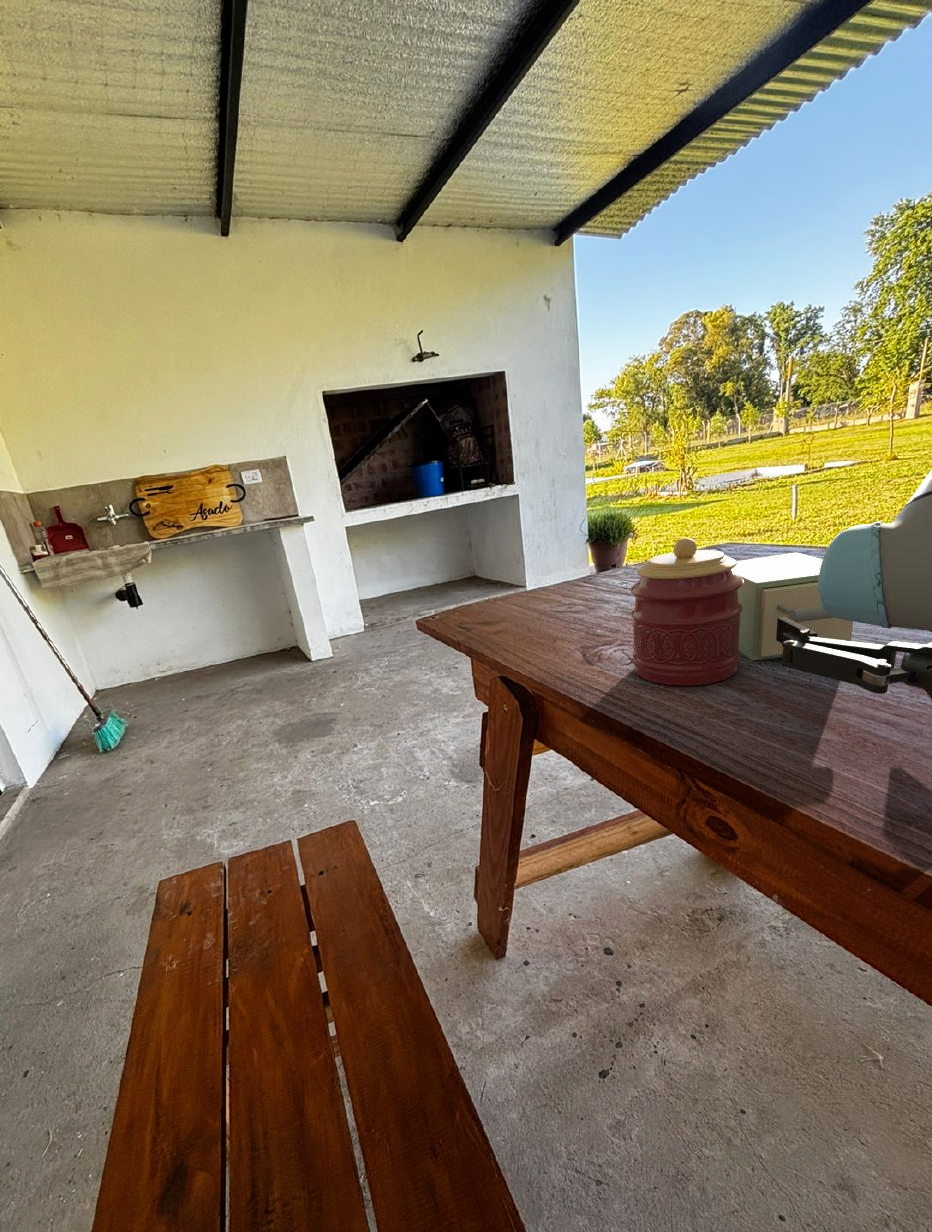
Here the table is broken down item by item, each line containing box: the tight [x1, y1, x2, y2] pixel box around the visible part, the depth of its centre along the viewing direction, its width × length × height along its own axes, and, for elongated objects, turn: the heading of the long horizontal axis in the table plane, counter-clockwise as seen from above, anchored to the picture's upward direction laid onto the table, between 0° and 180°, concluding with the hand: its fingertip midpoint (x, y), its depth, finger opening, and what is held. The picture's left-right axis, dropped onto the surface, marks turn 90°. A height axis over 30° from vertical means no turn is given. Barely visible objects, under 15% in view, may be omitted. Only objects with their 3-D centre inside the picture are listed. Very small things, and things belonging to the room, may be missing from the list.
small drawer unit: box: [732, 552, 823, 661], centre depth 74 cm, size 15×12×11 cm
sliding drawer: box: [758, 581, 854, 656], centre depth 70 cm, size 18×10×9 cm, turn 172°
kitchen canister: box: [630, 537, 744, 687], centre depth 69 cm, size 13×13×18 cm
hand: (846, 620), depth 59 cm, fingers open, 13 cm apart
